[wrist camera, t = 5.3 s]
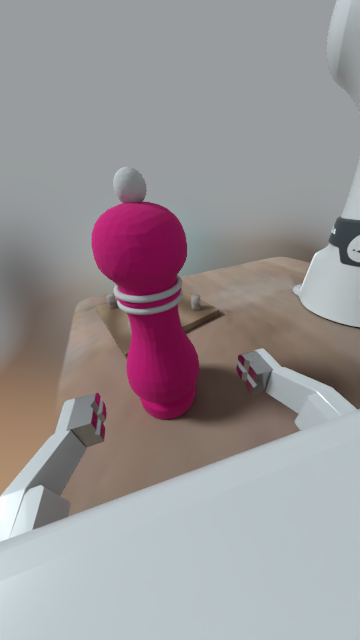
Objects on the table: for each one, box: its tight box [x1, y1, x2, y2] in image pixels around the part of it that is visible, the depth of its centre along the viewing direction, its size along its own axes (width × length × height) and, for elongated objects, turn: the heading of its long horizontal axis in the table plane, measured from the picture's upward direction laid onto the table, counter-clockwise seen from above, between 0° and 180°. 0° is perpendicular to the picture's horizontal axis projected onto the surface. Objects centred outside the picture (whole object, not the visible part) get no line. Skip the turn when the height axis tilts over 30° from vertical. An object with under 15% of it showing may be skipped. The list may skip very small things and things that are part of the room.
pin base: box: [95, 290, 219, 359], centre depth 35 cm, size 18×18×4 cm
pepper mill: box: [92, 167, 199, 419], centre depth 15 cm, size 7×7×20 cm
